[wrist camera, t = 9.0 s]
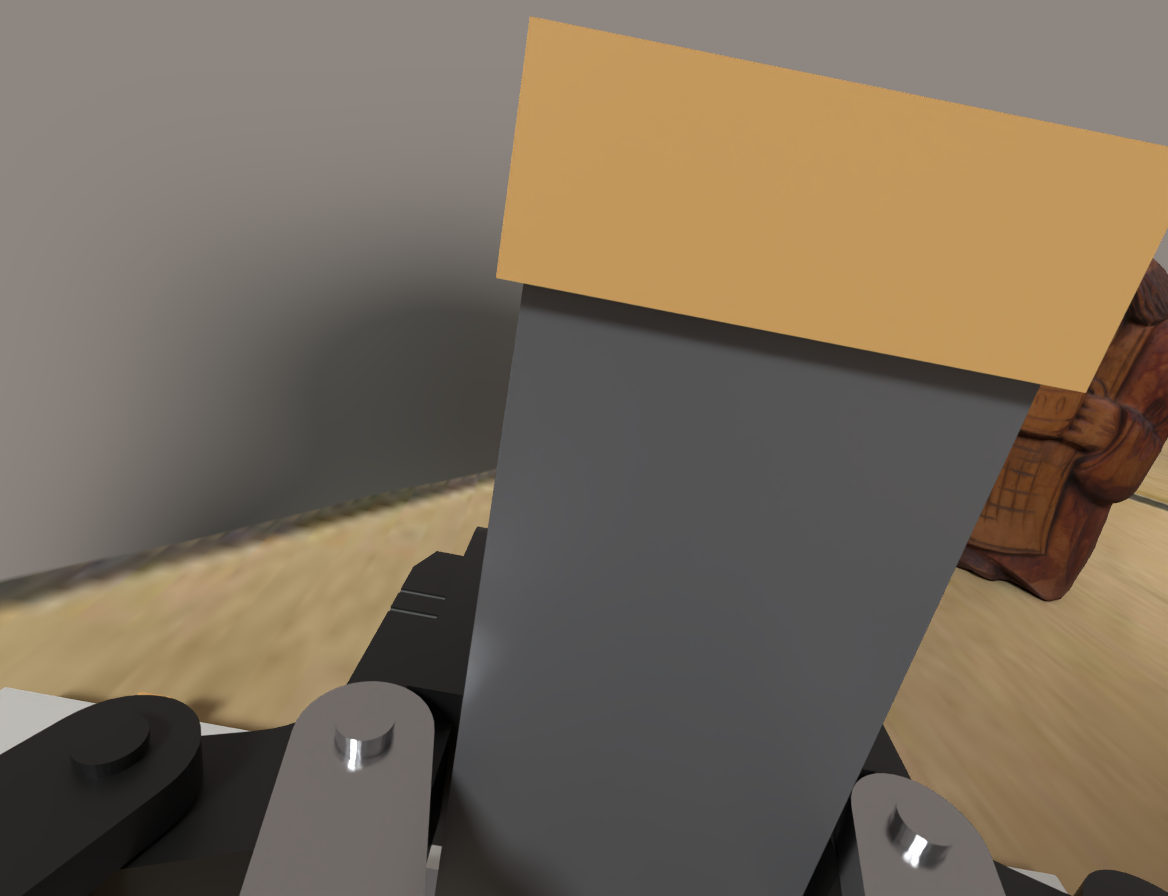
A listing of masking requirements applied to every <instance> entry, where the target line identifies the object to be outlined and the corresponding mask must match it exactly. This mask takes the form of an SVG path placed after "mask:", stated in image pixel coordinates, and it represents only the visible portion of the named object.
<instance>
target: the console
mask: <svg viewBox="0 0 1168 896" xmlns="http://www.w3.org/2000/svg"><path fill="white" fill-rule="evenodd" d="M137 695H156V694H150V693H145V692H139V693H138V694H137ZM157 696H161V695H157ZM165 697H167V696H165ZM168 698H171V697H168ZM93 704H96V703H91V702H85V701H79V700H74V699H68V698H63V697H57V696H51V695H46V694H40V693H35V692H29V691H23V690H18V689H12V688H7V687H4V688H3V689H2V690H0V754H2V753H3V752H5V751H7V750H9V749H10V748H12V747H14V746H16V745H17V744H19V743H21V742H23V741H24V740H26V739H28V738H30V737H31V736H33V735H35V734H37V733H38V732H40V731H42V730H44V729H45V728H47V727H49V726H51V725H52V724H54V723H56V722H58V721H59V720H61V719H63V718H65V717H67V716H69V715H71V714H73V713H75V712H77V711H79V710H81V709H84V708H86V707H88V706H91V705H93ZM200 725H201V736H203V735H214V734H225V733H237V732H248V731H247V730H242V729H236V728H230V727H225V726H219V725H214V724H208V723H202V722H200ZM441 848H442V846H436V845H432V846H431V849H430V853H429V856H428V860H427V863H426V876H425V892H424V896H435V889H436V882H437V875H438V869H439V862H440V855H441ZM1009 868H1011V869H1013V870H1015V871H1018V872H1020V873H1022V874H1024V875H1027V876H1029V877H1031V878H1033V879H1035V880H1038V881H1040V882H1042V883H1044V884H1047V885H1049V886H1051V887H1053V888H1055V889H1058V890H1060V891H1062V892H1064V893H1067V892H1066V890H1065V889H1064V887H1063V886H1062V884H1061V883H1060V881H1059V879H1058V878H1057V876H1056V875H1052V874H1047V873H1041V872H1035V871H1030V870H1024V869H1019V868H1013V867H1009ZM1067 894H1068V893H1067Z"/></svg>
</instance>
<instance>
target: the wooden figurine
mask: <svg viewBox="0 0 1168 896" xmlns="http://www.w3.org/2000/svg"><path fill="white" fill-rule="evenodd" d="M1167 438H1168V274H1167V273H1166V271H1165V270H1164V268H1162V266H1161V265H1160V264H1159V263H1158V262H1157V261H1155V260H1154V259H1153V258H1152V260H1151V262H1150V264H1149V266H1148V268H1147V270H1146V272H1145V274H1144V276H1143V278H1142V280H1141V283H1140V285H1139V287H1138V289H1137V291H1136V293H1135V295H1134V297H1133V299H1132V301H1131V303H1130V305H1129V307H1128V309H1127V311H1126V313H1125V315H1124V317H1123V319H1122V321H1121V323H1120V325H1119V327H1118V329H1117V331H1116V333H1115V335H1114V337H1113V339H1112V341H1111V343H1110V345H1109V347H1108V349H1107V351H1106V353H1105V355H1104V357H1103V359H1102V361H1101V363H1100V365H1099V367H1098V369H1097V371H1096V373H1095V375H1094V377H1093V379H1092V381H1091V383H1090V385H1089V387H1088V389H1087V391H1086V393H1083V392H1078V391H1073V390H1068V389H1063V388H1058V387H1052V386H1047V385H1042V384H1041V385H1040V388H1039V390H1038V392H1037V394H1036V396H1035V398H1034V400H1033V403H1032V405H1031V407H1030V409H1029V411H1028V413H1027V416H1026V418H1025V420H1024V422H1023V424H1022V426H1021V428H1020V431H1019V433H1018V435H1017V437H1016V439H1015V441H1014V443H1013V446H1012V448H1011V450H1010V452H1009V454H1008V456H1007V458H1006V461H1005V463H1004V465H1003V467H1002V469H1001V471H1000V473H999V476H998V478H997V480H996V482H995V484H994V486H993V488H992V491H991V493H990V495H989V497H988V499H987V501H986V503H985V506H984V508H983V510H982V512H981V514H980V516H979V518H978V521H977V523H976V525H975V527H974V529H973V531H972V533H971V536H970V538H969V540H968V542H967V544H966V546H965V549H964V551H963V553H962V555H961V557H960V559H959V561H958V564H957V567H960V568H965V569H969V570H971V571H973V572H975V573H977V574H978V575H980V576H982V577H985V578H987V579H990V580H999V579H1002V580H1009V581H1012V582H1014V583H1016V584H1018V585H1020V586H1022V587H1024V588H1026V589H1028V590H1029V591H1031V592H1032V593H1033V594H1036V595H1037V596H1039V597H1040V598H1042V599H1045V600H1047V601H1052V600H1056V599H1061V598H1062V597H1063V596H1064V595H1065V594H1066V593H1067V592H1068V591H1069V590H1070V588H1071V587H1072V585H1073V583H1074V581H1075V580H1076V578H1077V576H1078V575H1079V573H1080V572H1081V570H1082V569H1083V567H1084V566H1085V564H1086V563H1087V561H1088V559H1089V557H1090V556H1091V554H1092V552H1093V550H1094V548H1095V546H1096V543H1097V540H1098V538H1099V535H1100V534H1101V531H1102V528H1103V526H1104V524H1105V522H1106V520H1107V517H1108V513H1109V511H1110V508H1111V506H1112V504H1113V503H1118V502H1121V501H1124V500H1126V499H1128V498H1129V497H1130V496H1132V495H1133V494H1134V493H1135V492H1136V490H1137V489H1138V488H1139V486H1140V485H1141V483H1142V481H1143V480H1144V478H1145V476H1146V475H1147V473H1148V471H1149V470H1150V468H1151V466H1152V465H1153V463H1154V461H1155V460H1156V458H1157V457H1158V455H1159V453H1160V452H1161V449H1162V447H1163V445H1164V443H1165V441H1166V440H1167Z"/></svg>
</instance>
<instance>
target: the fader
mask: <svg viewBox="0 0 1168 896" xmlns="http://www.w3.org/2000/svg"><path fill="white" fill-rule="evenodd" d="M1167 228H1168V146H1163V145H1158V144H1153V143H1149V142H1144V141H1139V140H1133V139H1129V138H1124V137H1119V136H1114V135H1109V134H1104V133H1099V132H1095V131H1089V130H1085V129H1080V128H1075V127H1070V126H1065V125H1060V124H1055V123H1050V122H1046V121H1041V120H1036V119H1031V118H1026V117H1021V116H1016V115H1011V114H1006V113H1002V112H997V111H991V110H987V109H982V108H977V107H971V106H967V105H962V104H957V103H952V102H947V101H942V100H938V99H933V98H928V97H923V96H918V95H913V94H908V93H904V92H899V91H894V90H889V89H884V88H879V87H874V86H869V85H864V84H860V83H855V82H850V81H844V80H840V79H835V78H830V77H825V76H820V75H815V74H811V73H806V72H800V71H796V70H791V69H786V68H781V67H776V66H771V65H766V64H762V63H756V62H752V61H747V60H742V59H737V58H732V57H727V56H722V55H717V54H713V53H708V52H703V51H698V50H693V49H688V48H683V47H678V46H673V45H668V44H664V43H659V42H653V41H649V40H644V39H639V38H634V37H629V36H624V35H619V34H614V33H609V32H604V31H600V30H595V29H590V28H585V27H580V26H575V25H570V24H566V23H560V22H556V21H551V20H546V19H541V18H536V17H530V21H529V28H528V35H527V43H526V51H525V59H524V66H523V74H522V82H521V90H520V97H519V105H518V113H517V121H516V128H515V136H514V144H513V151H512V159H511V167H510V175H509V182H508V190H507V198H506V206H505V213H504V221H503V229H502V236H501V244H500V252H499V260H498V267H497V275H496V278H500V279H505V280H510V281H515V282H520V283H524V285H523V292H522V298H521V305H520V312H519V319H518V326H517V333H516V339H515V346H514V354H513V360H512V367H511V374H510V381H509V388H508V394H507V401H506V408H505V415H504V423H503V429H502V436H501V443H500V449H499V456H498V463H497V470H496V477H495V484H494V491H493V497H492V504H491V511H490V518H489V525H488V532H487V539H486V545H485V552H484V559H483V566H482V573H481V580H480V587H479V594H478V600H477V607H476V614H475V621H474V628H473V635H472V642H471V649H470V655H469V662H468V669H467V676H466V683H465V690H464V697H463V704H462V710H461V717H460V724H459V731H458V738H457V745H456V752H455V759H454V765H453V772H452V779H451V786H450V793H449V800H448V807H447V814H446V820H445V827H444V834H443V841H442V848H441V855H440V862H439V869H438V875H437V882H436V889H435V896H803V894H804V892H805V890H806V887H807V885H808V883H809V881H810V879H811V877H812V875H813V872H814V870H815V868H816V866H817V864H818V862H819V860H820V857H821V855H822V853H823V851H824V849H825V847H826V845H827V842H828V840H829V838H830V836H831V834H832V832H833V830H834V827H835V825H836V823H837V821H838V819H839V817H840V814H841V812H842V810H843V808H844V806H845V804H846V802H847V799H848V797H849V795H850V793H851V791H852V789H853V787H854V784H855V782H856V780H857V778H858V776H859V774H860V772H861V769H862V767H863V765H864V763H865V761H866V759H867V757H868V754H869V752H870V750H871V748H872V746H873V744H874V742H875V739H876V737H877V735H878V733H879V731H880V729H881V727H882V724H883V722H884V720H885V718H886V716H887V714H888V712H889V709H890V707H891V705H892V703H893V701H894V699H895V697H896V694H897V692H898V690H899V688H900V686H901V684H902V681H903V679H904V677H905V675H906V673H907V671H908V669H909V666H910V664H911V662H912V660H913V658H914V656H915V654H916V651H917V649H918V647H919V645H920V643H921V641H922V639H923V636H924V634H925V632H926V630H927V628H928V626H929V624H930V621H931V619H932V617H933V615H934V613H935V611H936V609H937V606H938V604H939V602H940V600H941V598H942V596H943V594H944V591H945V589H946V587H947V585H948V583H949V581H950V579H951V576H952V574H953V572H954V570H955V568H956V566H957V564H958V561H959V559H960V557H961V555H962V553H963V551H964V549H965V546H966V544H967V542H968V540H969V538H970V536H971V533H972V531H973V529H974V527H975V525H976V523H977V521H978V518H979V516H980V514H981V512H982V510H983V508H984V506H985V503H986V501H987V499H988V497H989V495H990V493H991V491H992V488H993V486H994V484H995V482H996V480H997V478H998V476H999V473H1000V471H1001V469H1002V467H1003V465H1004V463H1005V461H1006V458H1007V456H1008V454H1009V452H1010V450H1011V448H1012V446H1013V443H1014V441H1015V439H1016V437H1017V435H1018V433H1019V431H1020V428H1021V426H1022V424H1023V422H1024V420H1025V418H1026V416H1027V413H1028V411H1029V409H1030V407H1031V405H1032V403H1033V400H1034V398H1035V396H1036V394H1037V392H1038V390H1039V388H1040V385H1041V384H1042V385H1047V386H1052V387H1058V388H1063V389H1068V390H1073V391H1078V392H1083V393H1086V391H1087V389H1088V387H1089V385H1090V383H1091V381H1092V379H1093V377H1094V375H1095V373H1096V371H1097V369H1098V367H1099V365H1100V363H1101V361H1102V359H1103V357H1104V355H1105V353H1106V351H1107V349H1108V347H1109V345H1110V343H1111V341H1112V339H1113V337H1114V335H1115V333H1116V331H1117V329H1118V327H1119V325H1120V323H1121V321H1122V319H1123V317H1124V315H1125V313H1126V311H1127V309H1128V307H1129V305H1130V303H1131V301H1132V299H1133V297H1134V295H1135V293H1136V291H1137V289H1138V287H1139V285H1140V283H1141V280H1142V278H1143V276H1144V274H1145V272H1146V270H1147V268H1148V266H1149V264H1150V262H1151V260H1152V258H1153V256H1154V254H1155V252H1156V250H1157V248H1158V246H1159V244H1160V242H1161V240H1162V238H1163V236H1164V234H1165V232H1166V230H1167Z"/></svg>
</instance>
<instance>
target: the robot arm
mask: <svg viewBox="0 0 1168 896" xmlns="http://www.w3.org/2000/svg"><path fill="white" fill-rule="evenodd" d="M487 532H488V528H483V527H477V528H476V530H475V532H474V534H473V536H472V539H471V541H470V543H469V545H468V548H467V550H466V552H465V554H464V556H460V555H455V554H449V553H444V552H439V551H437V552H435V553H434V554H432V555H430V556H429V557H427V558H426V559H424V560H423V561H421V562H420V563H418V564H417V565H415V566H414V567H413V568H412V570H411V572H410V574H409V575H408V577H407V579H406V581H405V583H404V584H403V586H402V588H401V592H400V593H398V595H397V597H396V598H395V600H394V602H393V604H392V605H391V609H390V611H388V613H387V614H386V616H385V618H384V620H383V621H382V623H381V625H380V627H379V628H378V630H377V632H376V634H375V635H374V637H373V639H372V641H371V643H370V644H369V646H368V648H367V650H366V651H365V653H364V655H363V657H362V658H361V660H360V662H359V664H358V665H357V667H356V669H355V671H354V673H353V674H352V676H351V678H350V680H349V681H348V683H347V685H344V686H341V687H338V688H336V689H333V690H331V691H329V692H327V693H325V694H324V695H322V696H320V697H319V698H317V699H316V700H315V701H313V702H312V703H311V704H310V705H309V706H308V707H307V708H306V709H305V710H304V711H303V712H302V713H301V715H300V716H299V718H298V719H297V721H296V722H295V723H292V724H289V725H286V726H282V727H278V728H273V729H266V730H259V731H248V732H237V733H225V734H214V735H203V736H201V725H200V722H199V719H198V717H197V715H196V714H195V713H194V711H193V710H192V709H191V708H189V707H188V706H187V705H186V704H184V703H182V702H180V701H178V700H176V699H172V698H168V697H165V696H157V695H134V696H125V697H120V698H115V699H110V700H106V701H103V702H100V703H97V704H93V705H91V706H88V707H86V708H84V709H81V710H79V711H77V712H75V713H73V714H71V715H69V716H67V717H65V718H63V719H61V720H59V721H58V722H56V723H54V724H52V725H51V726H49V727H47V728H45V729H44V730H42V731H40V732H38V733H37V734H35V735H33V736H31V737H30V738H28V739H26V740H24V741H23V742H21V743H19V744H17V745H16V746H14V747H12V748H10V749H9V750H7V751H5V752H3V753H2V754H0V896H424V892H425V876H426V863H427V860H428V856H429V853H430V849H431V846H432V845H436V846H442V841H443V834H444V827H445V820H446V814H447V807H448V800H449V793H450V786H451V779H452V772H453V765H454V759H455V752H456V745H457V738H458V731H459V724H460V717H461V710H462V704H463V697H464V690H465V683H466V676H467V669H468V662H469V655H470V649H471V642H472V635H473V628H474V621H475V614H476V607H477V600H478V594H479V587H480V580H481V573H482V566H483V559H484V552H485V545H486V539H487ZM803 896H1071V895H1069V894H1067V893H1064V892H1062V891H1060V890H1058V889H1055V888H1053V887H1051V886H1049V885H1047V884H1044V883H1042V882H1040V881H1038V880H1035V879H1033V878H1031V877H1029V876H1027V875H1024V874H1022V873H1020V872H1018V871H1015V870H1013V869H1011V868H1009V867H1007V866H1004V865H1002V864H1000V863H998V862H996V861H994V860H992V857H991V854H990V852H989V850H988V848H987V846H986V844H985V842H984V841H983V839H982V837H981V836H980V834H979V833H978V832H977V830H976V829H975V828H974V826H973V825H972V824H971V823H970V822H969V821H968V819H967V818H966V817H965V816H964V815H963V814H962V813H961V812H960V811H959V810H957V809H956V808H955V807H954V806H953V805H952V804H951V803H949V802H948V801H947V800H945V799H944V798H943V797H941V796H940V795H939V794H937V793H935V792H934V791H932V790H931V789H929V788H927V787H925V786H923V785H921V784H920V783H918V782H915V781H913V780H911V778H910V776H909V774H908V772H907V770H906V768H905V766H904V764H903V763H902V761H901V759H900V757H899V755H898V753H897V751H896V749H895V747H894V745H893V743H892V741H891V739H890V737H889V735H888V733H887V731H886V729H885V728H884V726H883V724H882V727H881V729H880V731H879V733H878V735H877V737H876V739H875V742H874V744H873V746H872V748H871V750H870V752H869V754H868V757H867V759H866V761H865V763H864V765H863V767H862V769H861V772H860V774H859V776H858V778H857V780H856V782H855V784H854V787H853V789H852V791H851V793H850V795H849V797H848V799H847V802H846V804H845V806H844V808H843V810H842V812H841V814H840V817H839V819H838V821H837V823H836V825H835V827H834V830H833V832H832V834H831V836H830V838H829V840H828V842H827V845H826V847H825V849H824V851H823V853H822V855H821V857H820V860H819V862H818V864H817V866H816V868H815V870H814V872H813V875H812V877H811V879H810V881H809V883H808V885H807V887H806V890H805V892H804V894H803ZM1074 896H1168V892H1166V891H1164V890H1162V889H1161V888H1159V887H1157V886H1155V885H1154V884H1151V883H1149V882H1147V881H1145V880H1143V879H1141V878H1138V877H1136V876H1133V875H1130V874H1127V873H1124V872H1119V871H1115V870H1098V871H1095V872H1093V873H1091V874H1089V875H1088V876H1087V878H1086V879H1085V880H1084V881H1083V883H1082V884H1081V886H1080V887H1079V889H1078V890H1077V891H1076V893H1075V894H1074Z"/></svg>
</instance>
